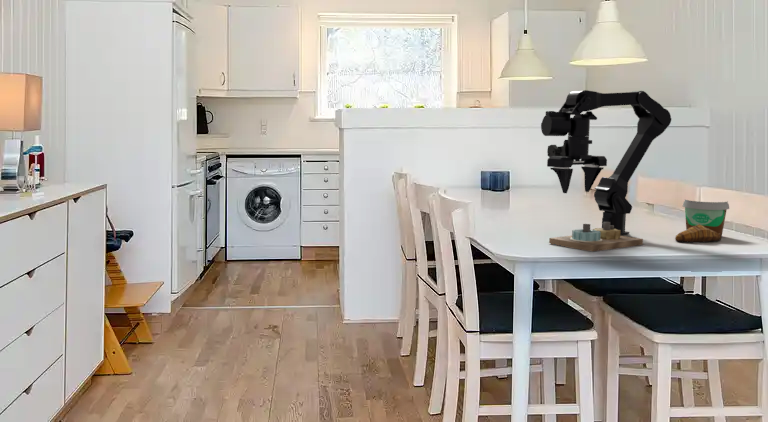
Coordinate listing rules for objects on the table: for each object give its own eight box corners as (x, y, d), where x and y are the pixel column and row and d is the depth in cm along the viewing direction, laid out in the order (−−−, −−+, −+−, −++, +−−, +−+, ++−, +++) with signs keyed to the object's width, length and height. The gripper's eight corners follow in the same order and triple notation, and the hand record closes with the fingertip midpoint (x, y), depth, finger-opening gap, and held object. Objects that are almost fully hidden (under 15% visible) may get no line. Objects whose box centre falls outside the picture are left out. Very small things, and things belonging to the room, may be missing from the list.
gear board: (599, 237, 212) (600, 217, 212) (642, 244, 201) (643, 223, 201) (549, 243, 201) (550, 222, 200) (592, 251, 190) (593, 229, 189)
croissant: (684, 245, 203) (685, 226, 203) (668, 241, 210) (669, 223, 209) (728, 243, 206) (729, 225, 206) (712, 240, 213) (713, 222, 212)
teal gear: (584, 236, 203) (584, 228, 203) (606, 239, 198) (606, 231, 198) (566, 238, 199) (566, 230, 199) (588, 241, 194) (588, 233, 193)
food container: (680, 236, 217) (682, 201, 216) (680, 233, 223) (682, 199, 221) (728, 239, 212) (730, 203, 211) (727, 236, 218) (729, 201, 217)
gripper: (578, 135, 226) (575, 188, 227) (533, 135, 215) (531, 191, 217) (609, 136, 217) (606, 192, 218) (564, 136, 206) (561, 195, 208)
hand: (576, 192), depth 216 cm, fingers open, 9 cm apart
